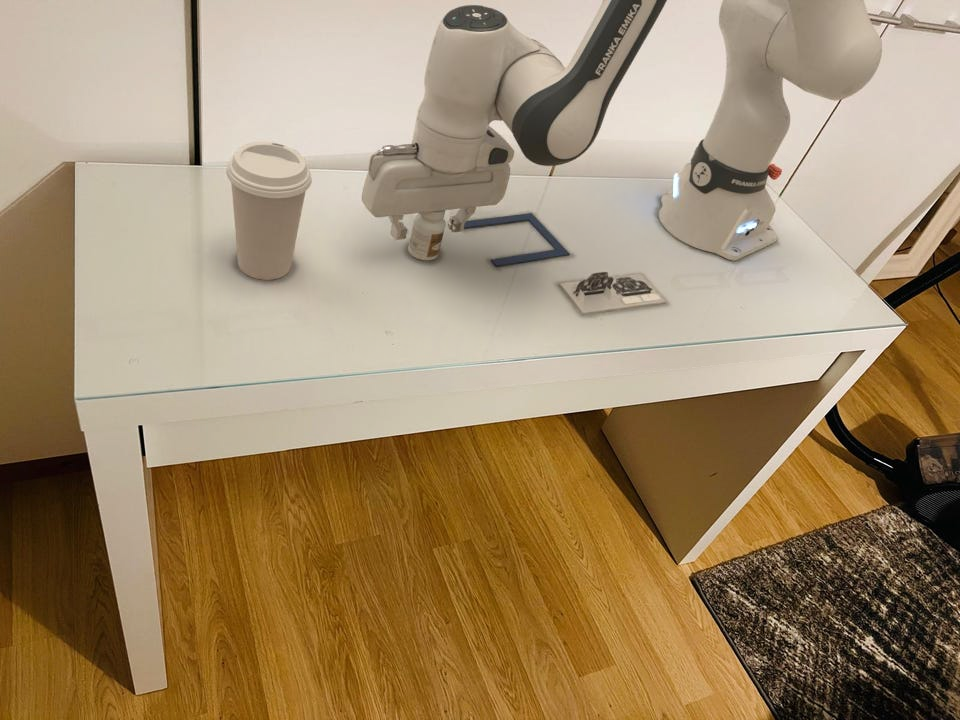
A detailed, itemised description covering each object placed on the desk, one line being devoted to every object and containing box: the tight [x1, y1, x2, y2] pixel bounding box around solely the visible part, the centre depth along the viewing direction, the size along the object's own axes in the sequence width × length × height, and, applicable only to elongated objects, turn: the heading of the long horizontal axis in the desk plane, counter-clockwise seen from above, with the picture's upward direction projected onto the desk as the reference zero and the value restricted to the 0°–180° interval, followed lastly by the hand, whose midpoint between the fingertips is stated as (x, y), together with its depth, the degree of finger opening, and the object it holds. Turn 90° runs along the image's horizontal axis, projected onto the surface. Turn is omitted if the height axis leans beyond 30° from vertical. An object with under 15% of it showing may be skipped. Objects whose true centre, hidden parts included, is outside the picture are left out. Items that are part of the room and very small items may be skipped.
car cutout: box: [558, 271, 667, 316], centre depth 109 cm, size 15×7×4 cm, turn 115°
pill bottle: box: [407, 210, 447, 261], centre depth 104 cm, size 4×4×8 cm
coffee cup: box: [225, 141, 313, 281], centre depth 92 cm, size 10×10×15 cm
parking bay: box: [463, 212, 570, 268], centre depth 115 cm, size 14×11×1 cm
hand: (426, 233), depth 104 cm, fingers open, 8 cm apart
